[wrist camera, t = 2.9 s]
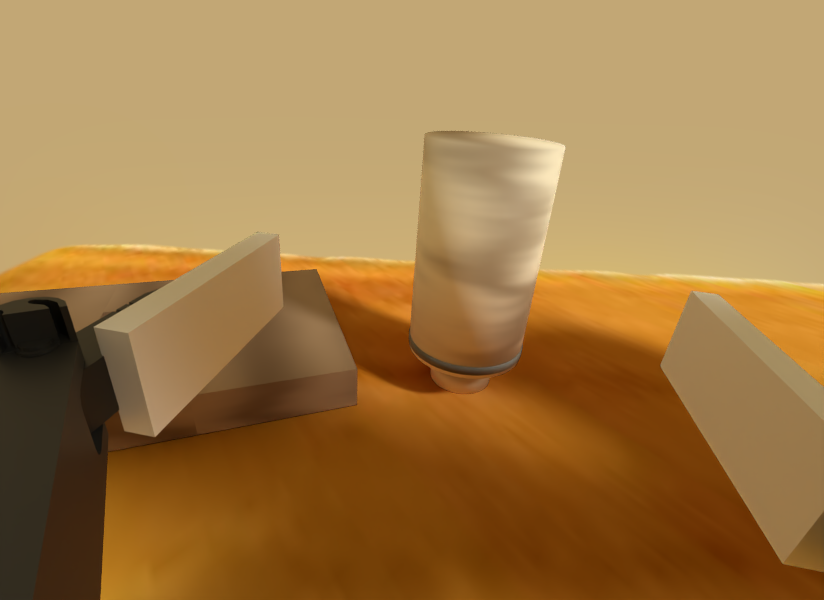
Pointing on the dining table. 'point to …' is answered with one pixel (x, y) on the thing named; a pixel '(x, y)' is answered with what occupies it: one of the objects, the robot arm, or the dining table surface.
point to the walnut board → (243, 361)
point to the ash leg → (479, 251)
